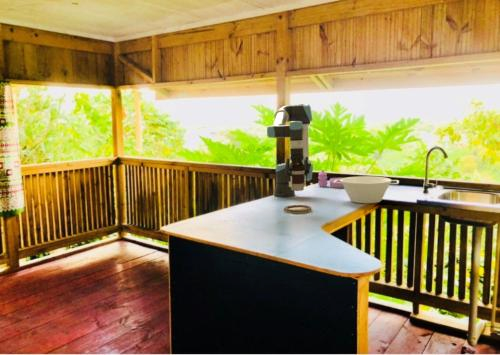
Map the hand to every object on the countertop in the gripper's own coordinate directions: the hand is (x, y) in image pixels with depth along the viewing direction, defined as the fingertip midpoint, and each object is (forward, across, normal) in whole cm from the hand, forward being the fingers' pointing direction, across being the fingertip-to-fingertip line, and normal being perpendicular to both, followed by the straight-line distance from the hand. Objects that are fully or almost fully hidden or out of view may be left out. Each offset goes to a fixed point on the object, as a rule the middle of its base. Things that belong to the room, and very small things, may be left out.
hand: (297, 186), depth 237 cm
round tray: (+15, 0, 0) cm, 15 cm away
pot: (+15, +51, +3) cm, 53 cm away
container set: (+15, +67, +65) cm, 94 cm away
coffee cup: (+3, 0, 0) cm, 3 cm away
